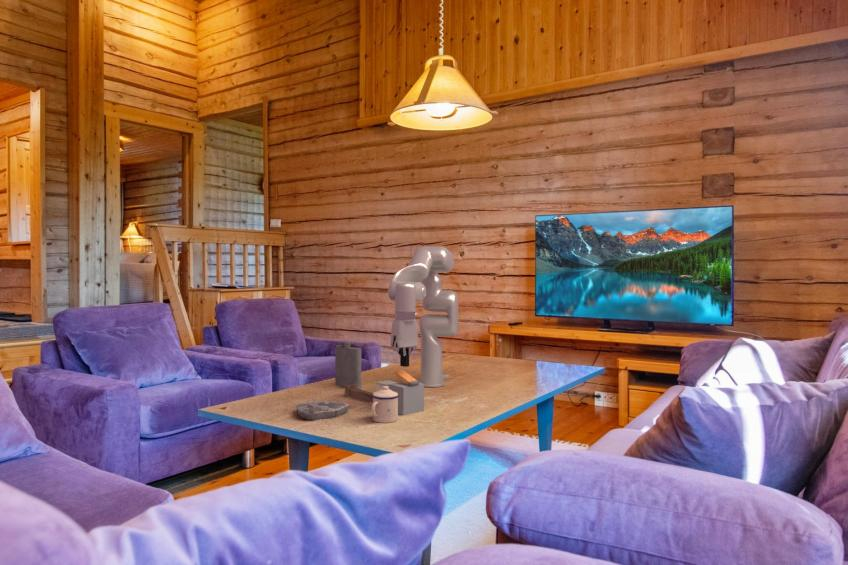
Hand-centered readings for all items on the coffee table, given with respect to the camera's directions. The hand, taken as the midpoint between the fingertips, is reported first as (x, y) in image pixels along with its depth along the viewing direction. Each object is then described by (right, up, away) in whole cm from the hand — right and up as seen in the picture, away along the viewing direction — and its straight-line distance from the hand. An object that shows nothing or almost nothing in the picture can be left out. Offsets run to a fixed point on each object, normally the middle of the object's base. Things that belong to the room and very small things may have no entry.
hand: (404, 366), depth 218 cm
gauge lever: (0, -5, 0) cm, 5 cm away
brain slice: (-30, -17, -5) cm, 35 cm away
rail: (-12, -16, +13) cm, 24 cm away
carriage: (-7, -16, +8) cm, 19 cm away
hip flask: (-27, -15, +41) cm, 51 cm away
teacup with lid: (-7, -17, -14) cm, 23 cm away
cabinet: (+1, -17, 0) cm, 17 cm away
